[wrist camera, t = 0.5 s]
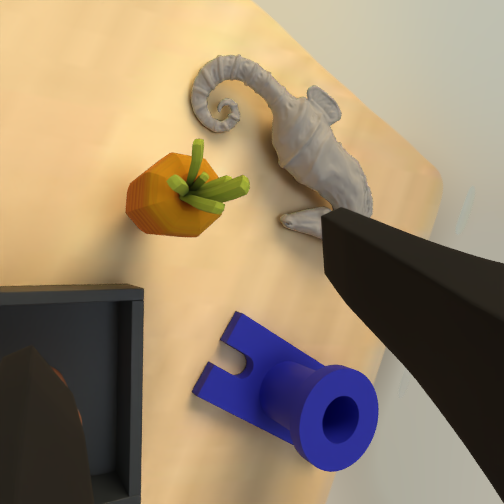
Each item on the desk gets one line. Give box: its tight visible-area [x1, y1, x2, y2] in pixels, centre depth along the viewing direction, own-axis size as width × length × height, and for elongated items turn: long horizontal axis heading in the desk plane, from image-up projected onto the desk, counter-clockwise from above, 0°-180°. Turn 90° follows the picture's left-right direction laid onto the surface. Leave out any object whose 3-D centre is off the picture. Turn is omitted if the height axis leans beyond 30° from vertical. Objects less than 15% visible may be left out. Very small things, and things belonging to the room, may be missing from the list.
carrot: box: [125, 139, 250, 237], centre depth 27 cm, size 5×5×15 cm
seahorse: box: [191, 55, 373, 239], centre depth 38 cm, size 5×12×20 cm
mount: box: [192, 311, 378, 472], centre depth 37 cm, size 15×8×9 cm, turn 56°
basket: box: [0, 284, 144, 504], centre depth 29 cm, size 15×13×5 cm
